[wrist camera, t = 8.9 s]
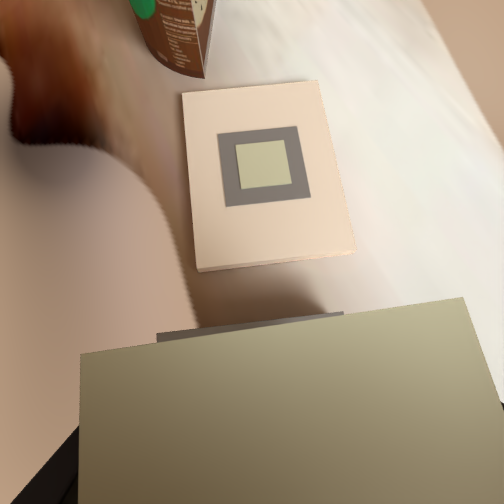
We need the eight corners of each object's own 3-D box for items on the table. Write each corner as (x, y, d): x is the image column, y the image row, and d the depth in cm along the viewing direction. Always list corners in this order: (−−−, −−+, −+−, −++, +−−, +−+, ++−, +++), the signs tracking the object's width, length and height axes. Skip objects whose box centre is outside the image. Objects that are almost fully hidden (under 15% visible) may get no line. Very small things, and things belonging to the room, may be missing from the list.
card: (353, 254, 21) (357, 248, 21) (198, 272, 21) (196, 267, 20) (315, 89, 25) (318, 77, 24) (183, 101, 25) (181, 90, 24)
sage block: (337, 489, 15) (668, 867, 3) (217, 510, 15) (70, 1008, 3) (313, 364, 17) (462, 297, 5) (204, 381, 17) (80, 354, 5)
